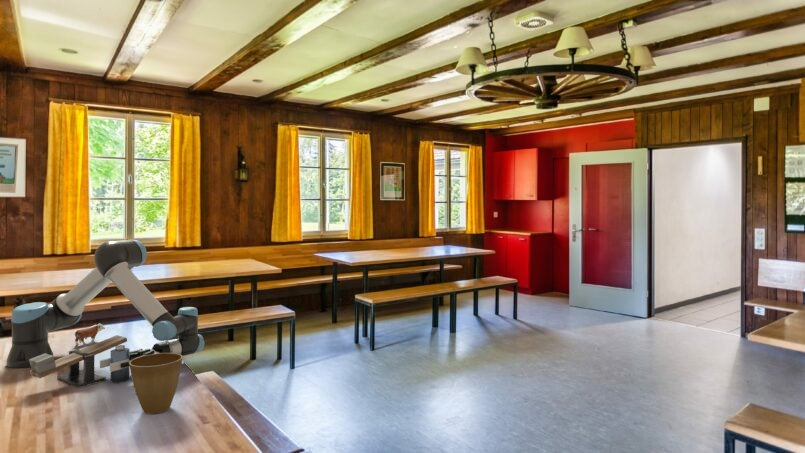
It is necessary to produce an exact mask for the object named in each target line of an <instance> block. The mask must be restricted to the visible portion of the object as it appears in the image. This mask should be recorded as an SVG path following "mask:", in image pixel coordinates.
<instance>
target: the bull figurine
mask: <svg viewBox="0 0 805 453" xmlns="http://www.w3.org/2000/svg"><path fill="white" fill-rule="evenodd" d="M105 329H106V327H104V325H103V324H102V323H98V324H94V325H92V326H89V327H86V328H82V329H77V330H76V331H75V332H74V336H75V338H74V339H75V340H74V342H75V345H76V346H79V344H82V345H87V343H86V341H85V340H87V338H91V342H92V343H96V341H95V338H96V336H97V335H98V334H99V332H100V331H103V330H105ZM84 339H85V340H84Z"/></svg>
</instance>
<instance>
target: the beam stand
mask: <svg viewBox="0 0 805 453" xmlns="http://www.w3.org/2000/svg"><path fill="white" fill-rule="evenodd" d="M74 350H75V349H72V350H69V351H68V355H69V354H72V352H73V351H74ZM76 350H79V349H76ZM56 379H57V380H60V381H62V382H65V383H66V384H69V385H72V386H75V387H77V388H82V387H87V386H89V385H92V384H97V383H101V382H104V381H106V380H107V377H106V376H103V375H100V374H97V373H95V355H94V354H91V355H87V356H84V360H83V369H81V370H80V362H78V363H75V364H73V365H71V366H68V373H65V374H59V375H57V378H56Z"/></svg>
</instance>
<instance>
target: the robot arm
mask: <svg viewBox="0 0 805 453" xmlns="http://www.w3.org/2000/svg"><path fill="white" fill-rule="evenodd" d="M147 253H148V252H147V248H146V246H145V245H144V244H143V242H141V241H140V240H137V239H130V238H129V239H123V240H122V239H121V240H109V241H105V242H103V243H101V244H100V245H99V246H98V247H97V249H95V252H94V256H93V262H94V265H95V267H94V268H93V269H92V270H91V271H90V272H88V274H87V275H86V276H84V277H83V278H82V279H81V280H80V281H79V282H78V283H77V284H76V285H75V286H74V287H72V288H71V289H70V290H69V291H68V292H67V293H61V294H59V295H58V296H57V297H56V298H54V299H53V300H52V301H51V302H49V303H47V302H43V301H42V302H41V301H38V302H37V301H36V302H31V303H25V304H21V305H19V306H16V307H14V309H13V310H12V312H11V318H10V321H11V347H10V350H9V352H8V354H7V355H8V356H7V357H6V358H7V359H6V367H8V368H10V369H11V368H12V369H15V368H16V369H25V368H31V365H30V362H29V359H32V358H34V357H37V356H40V355H42V354H45V353H46V354H49V355H52V356H53V357H54V351H53V350H52V347H51V345H50V342H49V333H50V332H53V331H56V330H60V329H64V328H69V327H71V326H73V325H76V324H77V323H78V322H79V321H80V320H81V318H82V316H83V313H84V310H85V307H86V306H87V304H88V303H90V301H92V300H93V299H94V298H95V297H96V296H97V295H99V293H101V292H102V291H103V290H104V289H105V288H106V287H107V286H108V285H110V284H111V283H113V285H114V286H115V287H116V288H117V289H118V290H119V291H120V293H122V294H123V296H124V297H126V299H127V300H128V301H129V302H130V303H131V304H132V306H134V308H135V309H136V310H137V311H138V312H139V313H140V314H141V315H142V316H143V318H144V319H145V320H146V321H147V322H148V323H149V324H150V325H151V326H152V328H151V332H152V336H153V337H154V338H155V339H156V340H157V341H160V342H157V343H155V344H153V346H152V347H151V348H146V349H143V348H139V349H136V350H132V351H130V361H131V360H133V359H135V358H138V357H141V356H145V355H150V354H158V353H176V354H180V355H182V357H186V356H189V355H194V354H196V353H198V352H201V351H202V350H203V349H204V347H205V340H204V337H203V335H202V334H199V332H198V330H199V328H198V327H199V325H198V324H199V314H198V312H199V310H198V308H197V307H193V306H183V307H180V308H179V309H178V311H177V315H175V316H173V315H172V314H171V313H170V312H169V311H168V310H167V309H166V308H165V307H164V306H163V304H161V302H160V301H159V300H158V299H157V298H156V296H155V295H154V294H153V293H152V292H151V291H150V290H149V289H148V288H147V287H146V286H145V285H144V283H143V282H142V281H141V280H140V279H139V278H138V277H137V276H136V275H135V273H134V272H133V271H132V269H134V268H137V267H139V266H142V265H143V264H144V263H145V262H146V260H147ZM177 336H178V337H177ZM175 337H177V338H175ZM130 361H129V359H127V360H123V361H119V362H115V363H111V357H109V358H105V359H101V360H99V369H103V368H108V367H109V372H110V373H111V372H112V371H115V370H119V369H123V368H127V367H129V366H130V365H129V362H130Z"/></svg>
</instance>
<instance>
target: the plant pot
mask: <svg viewBox="0 0 805 453" xmlns="http://www.w3.org/2000/svg"><path fill="white" fill-rule="evenodd" d="M182 361H183V356H182V355H180V354H176V353H158V354H150V355H145V356H141V357H138V358H135V359H133V360H131V361H130V362H129V365H130V376H131V380H132V384H133V387H134V391H135V394H136V397H137V400H138V402H139V404H140V405H139V406H140V407H141V409H142V412H143V413H144V414H148V415H155V414H160V413H164V412H166V411H168V410H169V409H170V408H171V405H172V403H173V400H174V398H175V394H176V391H177V387H178V383H179V379H180V374H181V370H182V364H183V362H182Z"/></svg>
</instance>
